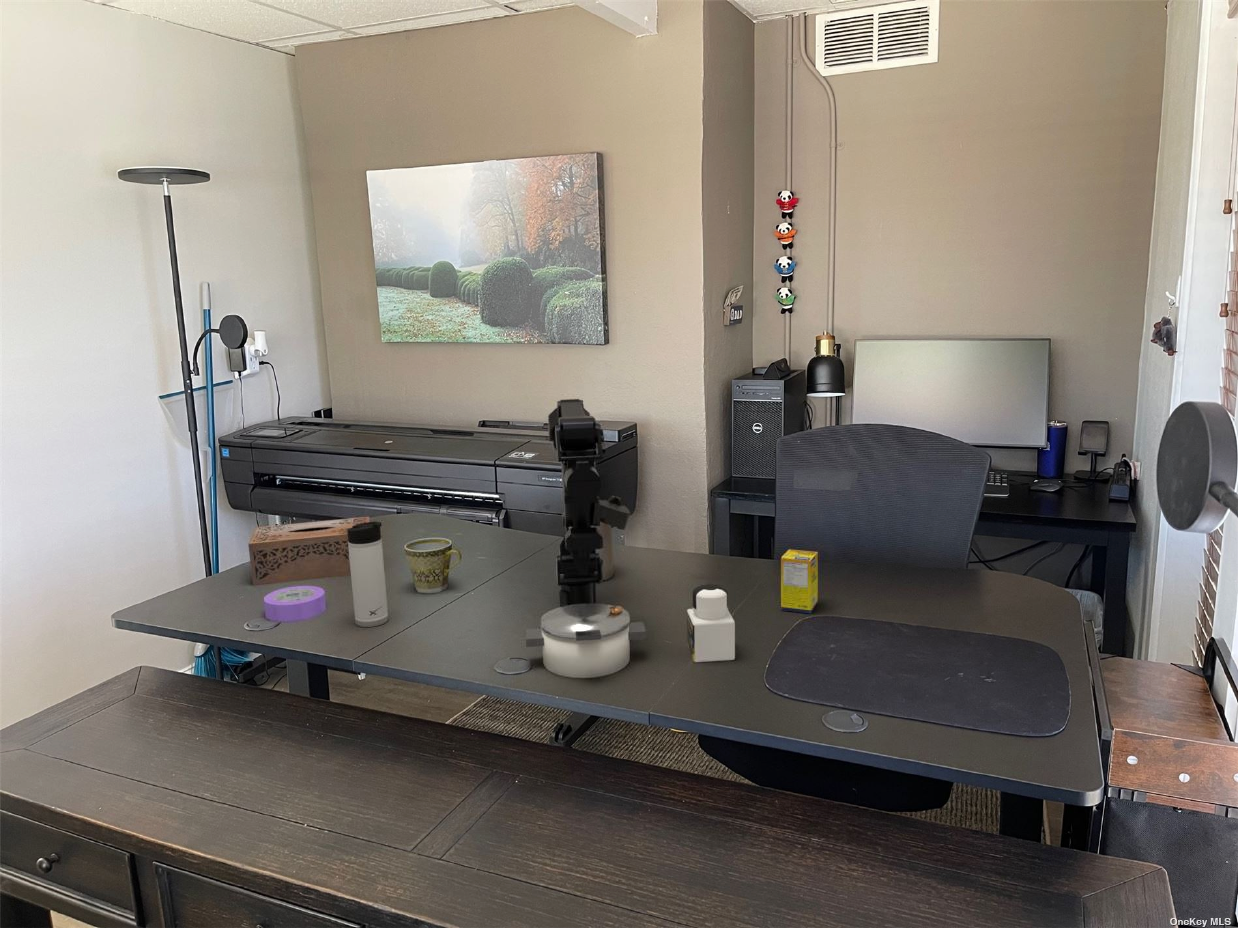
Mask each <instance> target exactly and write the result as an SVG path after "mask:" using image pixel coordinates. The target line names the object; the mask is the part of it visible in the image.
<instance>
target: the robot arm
mask: <svg viewBox="0 0 1238 928" xmlns="http://www.w3.org/2000/svg"><path fill="white" fill-rule="evenodd" d="M590 413H591V412H589V411H588V410H587V409H586V408H585V407H584V400H583V399H580V398H571V399H570V398H568V399H560V400H558V401H557V402H556V408H554V410H552V412H551V413H549V414H548V417H547V418H548V419H547V421H548V424H547V427H548V428H547V429H548V431H547V432H548V441H549V443H550V442H552V451H553V453H554V455H555V456H556V458H557V462H558V463H561V464H560V465H561V477H562V496H563V508H564V509H563V511H562V512H561V517H562V522H561V523H562V527H565V532H563V535H564V537H563V539H561V542H560V544H559V547H558V549H559V550H558V553H559V554H558V555H556V556H555V574H556V575H555V576H556V584H557V586H558V587H560V590H559V593H558V594H559V606H558V607H557V608H559V607H563V606H568V605H575V604H590V603H594V604H597V590H596V589H597V586H596V585H597V584H601V582H600V581H601V580H603V575H602V571H603V560H602V559H601V558H600V556H599V553H596V549H601V548H603V536H602V533H601V531H600V530H598V529H597V528H596V527H591V526H600V522H602V523H605V524H608V525H611V527H615V528H617V529H619V530H622V531H623V530H626V527H627V524H628V521H629V517H630V514H631V512H630V510H629V508H628V507H626V505H622V502H621V498H620V497H618V496H615V495H611V496H609V498H608V499H607V500H606V499H603V500H601V499H600V497H599V494H600V492H601V491H602V480H601V478H600V475H599V473H598V471H597V469H596V462H595V461H603V460H604V454H606V445H605V444H606V443H605V435H604V429H603V428H602V427H601V424H600V423H597V420H596V417H594V416H593V415H591V414H590ZM594 572H595V573H594Z"/></svg>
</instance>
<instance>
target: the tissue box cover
mask: <svg viewBox="0 0 1238 928" xmlns="http://www.w3.org/2000/svg"><path fill="white" fill-rule="evenodd" d="M367 522H371V521H370V516H362V517H351V518H341V519H330V520H329V519H328V520H320V521H319V520H318V521H307V522H297V523H287V524H276V525H264V526H255V528H254V530H253V533H252V535H251V537H250V539H249V540H248V541H249V542H248V543H247V544H248V545H247V546H248V553H249V554H248V555H249V561H250V569H251V578H252V586H253V587H255V586H263V585H265V586H266V585H272V584H284V583H292V582H302V581H310V580H311V581H312V580H319V579H320V580H321V579H328V578H337V577H346V576H351V570H350V559H349V548H348V545H349V544H348V535H347V529H350V528H352V526H354V525H357V524H361V523H367Z"/></svg>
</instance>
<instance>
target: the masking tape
mask: <svg viewBox="0 0 1238 928" xmlns="http://www.w3.org/2000/svg"><path fill="white" fill-rule="evenodd" d="M263 606H264V615H265V619H266V620H268V619H270V620H272V621H271V622H274V621H278V622H277V623H291V622H293V623H294V622H299V621H305V620H308V619H312V618H315V617H318V616H319V615H321V614H323V613H324V612H325V611H326V609H327V603H326V593H325V590H324V588H322V587H319V586H313V585H298V586H289V587H284V588H280V589H277V590H273V591H272V592H270V593H268V594H266V595H265V596H264V597H263ZM270 620H269V621H270Z"/></svg>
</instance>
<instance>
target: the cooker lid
mask: <svg viewBox="0 0 1238 928" xmlns="http://www.w3.org/2000/svg"><path fill="white" fill-rule="evenodd" d="M558 607H559V608H558ZM558 607H556V608H553V609H551V610H549V611H547V612H545V613H544V614H543V615H541V618H540V628H542V630H543V631H544V632H545V633H547V634H549V635H552V636H555V637H559V638H566V639H576V641H584V640H599V639H601V637H606V636H610V635H613V634H616V633H619V632H621V631H623V630H625V629H626V628H627V627H628V626H629V624H630V623H631V622H630V620H631V619H630V613H629V611H628V610H626V609H624V608H623V606H620V605H612V604H606V603H596V604H594V603H590V604H575V605H568V606H563V607H560V606H558Z"/></svg>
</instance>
